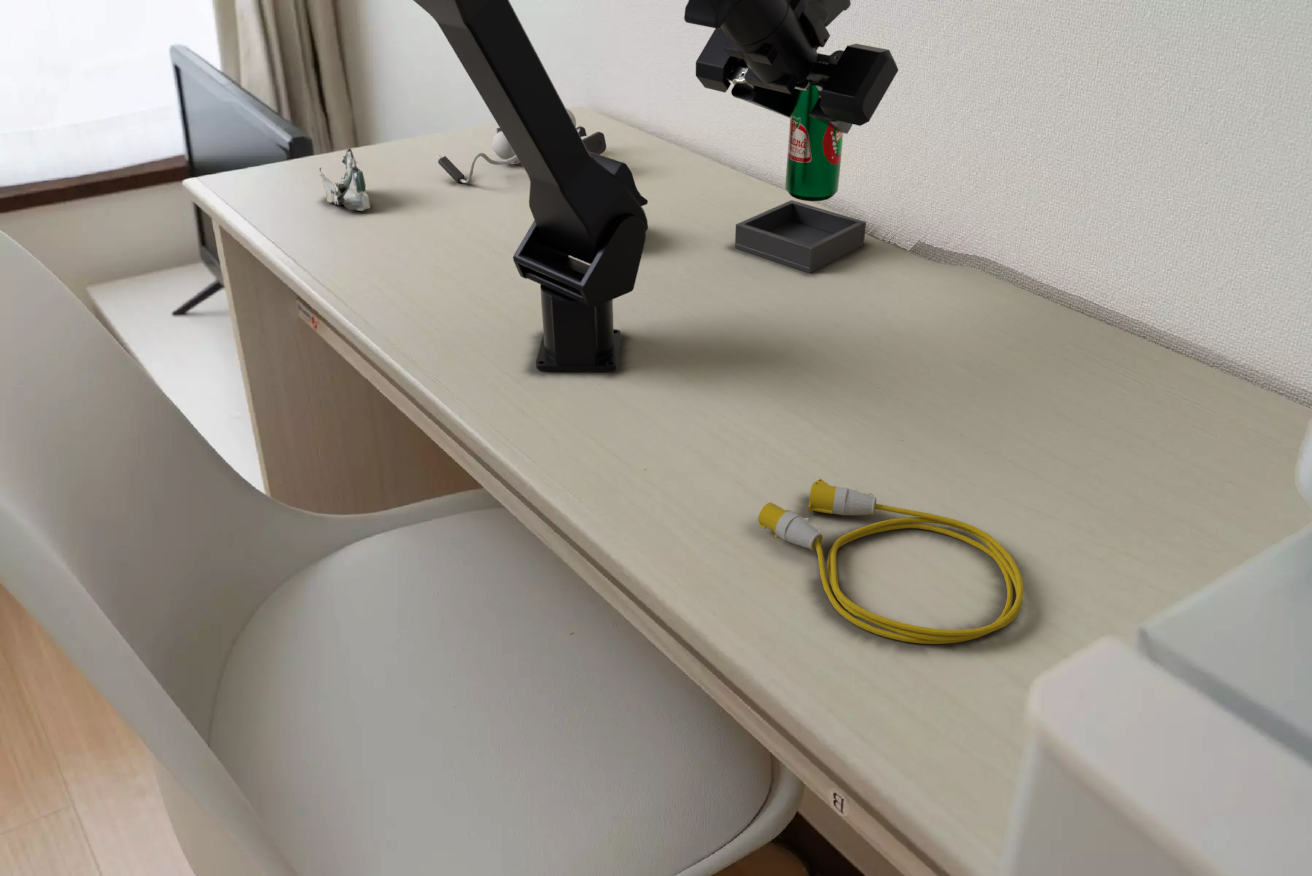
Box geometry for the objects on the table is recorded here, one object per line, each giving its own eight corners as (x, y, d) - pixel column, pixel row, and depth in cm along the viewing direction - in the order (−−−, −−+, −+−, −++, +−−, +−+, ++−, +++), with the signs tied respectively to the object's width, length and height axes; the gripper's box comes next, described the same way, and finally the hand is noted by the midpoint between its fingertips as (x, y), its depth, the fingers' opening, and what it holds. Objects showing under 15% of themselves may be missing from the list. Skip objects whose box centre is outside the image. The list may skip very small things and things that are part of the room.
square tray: (810, 273, 101) (812, 248, 100) (734, 247, 106) (735, 224, 105) (864, 245, 107) (866, 221, 105) (790, 222, 112) (791, 199, 111)
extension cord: (901, 473, 73) (905, 448, 72) (1065, 614, 61) (1072, 588, 60) (745, 518, 69) (746, 493, 68) (889, 680, 57) (893, 653, 56)
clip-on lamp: (474, 222, 120) (613, 164, 125) (459, 173, 116) (603, 114, 121) (439, 182, 128) (571, 128, 133) (423, 134, 124) (560, 81, 129)
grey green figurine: (352, 190, 121) (342, 129, 117) (375, 211, 115) (365, 148, 111) (315, 197, 119) (303, 135, 115) (336, 219, 113) (325, 155, 110)
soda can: (776, 188, 104) (785, 61, 98) (824, 183, 105) (836, 58, 99) (796, 205, 100) (807, 74, 94) (846, 200, 101) (859, 71, 95)
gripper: (900, -56, 82) (954, 67, 95) (720, -77, 93) (789, 35, 106) (829, 66, 82) (893, 174, 94) (656, 30, 93) (734, 130, 105)
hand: (825, 123), depth 100 cm, fingers closed on soda can, 5 cm apart
